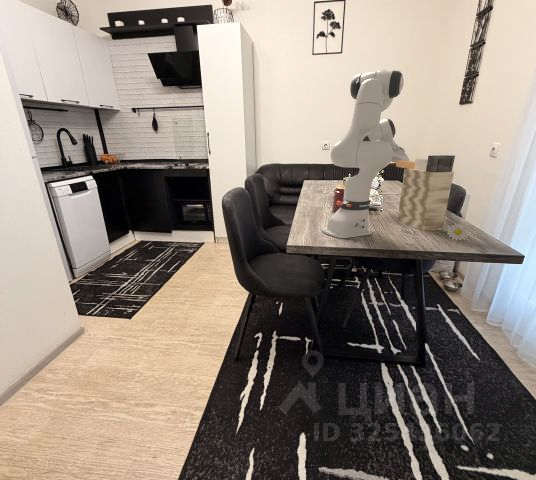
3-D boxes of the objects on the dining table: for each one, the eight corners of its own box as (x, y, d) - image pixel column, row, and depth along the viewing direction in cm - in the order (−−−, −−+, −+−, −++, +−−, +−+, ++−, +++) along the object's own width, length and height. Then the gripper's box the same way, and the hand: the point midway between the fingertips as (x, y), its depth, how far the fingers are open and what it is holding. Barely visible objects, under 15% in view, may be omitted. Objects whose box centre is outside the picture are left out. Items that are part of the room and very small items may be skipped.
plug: (393, 166, 147) (394, 156, 146) (403, 166, 149) (404, 156, 147) (426, 170, 125) (428, 159, 124) (437, 170, 126) (439, 159, 125)
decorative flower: (436, 215, 125) (470, 224, 112) (441, 223, 128) (475, 233, 115) (425, 229, 125) (458, 239, 112) (430, 237, 128) (463, 247, 115)
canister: (350, 208, 171) (352, 179, 165) (358, 214, 158) (361, 182, 153) (329, 209, 170) (331, 180, 164) (335, 214, 158) (337, 183, 152)
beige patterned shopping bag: (397, 220, 145) (406, 154, 134) (414, 219, 146) (425, 153, 136) (423, 231, 127) (436, 156, 116) (442, 229, 129) (457, 155, 118)
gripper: (376, 139, 154) (383, 153, 145) (407, 150, 159) (414, 164, 150) (369, 148, 159) (375, 162, 150) (399, 159, 164) (406, 173, 155)
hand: (395, 164), depth 150 cm, fingers open, 8 cm apart
